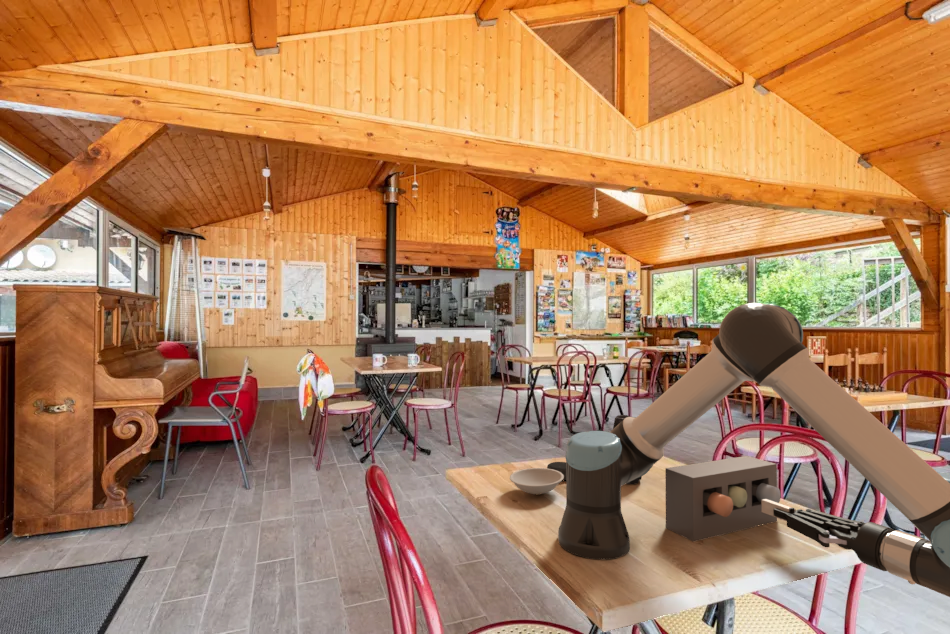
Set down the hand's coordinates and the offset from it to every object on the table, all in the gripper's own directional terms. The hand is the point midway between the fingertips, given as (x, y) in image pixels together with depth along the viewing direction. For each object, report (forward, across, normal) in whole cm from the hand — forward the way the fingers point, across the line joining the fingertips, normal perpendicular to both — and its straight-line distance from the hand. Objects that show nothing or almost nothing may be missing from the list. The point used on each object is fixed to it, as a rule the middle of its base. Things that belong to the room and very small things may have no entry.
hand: (763, 505), depth 107 cm
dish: (+46, -30, -8) cm, 56 cm away
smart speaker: (+56, -15, -8) cm, 59 cm away
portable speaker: (+45, +2, -8) cm, 46 cm away
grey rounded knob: (+6, +8, -2) cm, 10 cm away
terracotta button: (+6, -8, -2) cm, 10 cm away
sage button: (+8, 0, -2) cm, 9 cm away
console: (+10, 0, -8) cm, 13 cm away
